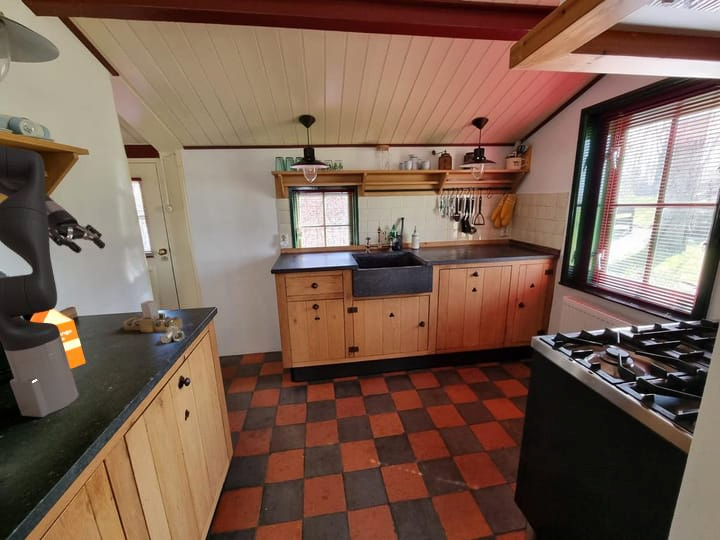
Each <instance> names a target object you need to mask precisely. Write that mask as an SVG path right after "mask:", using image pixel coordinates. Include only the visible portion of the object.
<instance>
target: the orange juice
mask: <svg viewBox="0 0 720 540" xmlns="http://www.w3.org/2000/svg"><path fill="white" fill-rule="evenodd" d="M29 321H32V322H42V323H52V324H55V325H57V327H58V328H59V331H60V335H61V338H62V342H63V345H64V348H65V352H66V355H67V358H68V362H69V365H70V368H71V369H73V368H76V367H79V366H81V365H84V364H86V358H85V356H84V353H83V349H82V344H81V341H80V338H79V335H78V331H77V328H76V324H75V320H74V319H73V318H72V319H71V318H70V317H68V316H66V315H64V314H63V313H61V312H59V311H58V310H56V309H55V308H54V309H52V310H49V311H46V312H41V313H35V314H32V316H31V318H30V320H29Z"/></svg>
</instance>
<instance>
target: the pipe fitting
mask: <svg viewBox="0 0 720 540" xmlns="http://www.w3.org/2000/svg"><path fill="white" fill-rule="evenodd" d="M184 338H185V333H184V331H183V330H180V329H178V327H177V326H170V327H169V328H168V329H167V332H164V334H163V335H162V336H161V337H160V342H161V343H163V344H164V343H165V344H170V343H171V342H172V341H174V342H180V340H181V341H183V340H184Z"/></svg>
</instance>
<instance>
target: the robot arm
mask: <svg viewBox="0 0 720 540" xmlns="http://www.w3.org/2000/svg"><path fill="white" fill-rule="evenodd" d="M45 167H46V165H45V162H44V159H43V157H42V156H41V154H40V153H39V152H37V151H34V150H29V149H24V148H18V147H12V146H11V147H10V146H6V145H0V193H1V194H2V195H3V196H5V197H6V198H5V199H4V200H2V201H1V202H0V242H1V244H3V245H4V246H5V247H6V248H8V249H9V250H10V251H12V252H14V253H15V254H16V255H18V256H19V257H21V258H22V259H23V260H24V261H25V262H26V263H27V264H28V266H30V268H31V270H32V271H31V273H29V274H20V275H13V276H6V277H5V276H4V277H0V342H1V344H2V347H3V350H4V352H5V355H6V359H7V361H8V364H9V366H10V367H9V368H10V369H11V373H12V376H13V378H12V379H10V381H9V383H10V387H11V389H12V392H13V394H14V397H15V401H16V404H17V406H18V409H19V411H20V415H21V416H24V417H34V418H35V417H36V418H44V417H47V416H48V415H49V414H53V413H54V412H57V411H60V410H61V409H64V408H65V407H68V406H69V405H71V404H72V403H73V402H75V401H76V400H77V398H78V397H79V392H78V388H77V385H76V381H75V379H74V375H73V372H72V368H70V365H69V362H68V358H67V355H66V352H65V348H64V345H63V342H62V338H61V335H60V331H59V328H58V327H57V325H55V324H52V323H42V322H32V321H30V320H27V319H23V318H21V317H23V316H24V317H25V316H28V315H34V314H35V313H41V312H46V311H49V310H52V309H54V310H55V308H56V306H57V303H58V291H57V284H56V280H55V275H54V270H53V263H52V260H51V259H52V258H51V249H50V245H51V244H50V239H51V241H52V242H53V243H55V244H56V245H57V246H58V247H61V246H64V247H68V248H69V249H70V250H72V252H73V253H76V254H80V253H81V251H82V247H80V246H79V245H78V244H77V243H76V242H75V240H81V239H83V240H85V241H89V242H93V244H94V245H95V246H97V247H98V248H99V249H100V250H102V249H104V248H105V247H106V243H105V242H104V241H103V240H101V238H102V236H103V234H102V233H101V232H99V231H98V230H97V229H96V228H95V227H93V226H92V225H91V224H86V226H82V225H80V224H79V223H78V220H77V219H76V218H75V217H74V216H73V215H72V214H71V213H69V212H68V210H66V209H65V208H64V207H63V206H62V205H60V204H58V203H57V202H56V201H54V200H53V199H52V198H51V197H50V196H49V195H48V194H47V193H46V192H45V191H46V190H45V189H46V169H45ZM85 234H86V235H85ZM73 240H74V241H73Z"/></svg>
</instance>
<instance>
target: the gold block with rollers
mask: <svg viewBox="0 0 720 540" xmlns="http://www.w3.org/2000/svg"><path fill="white" fill-rule="evenodd" d="M158 313H159V318H160V320H158V321H156V322H154V323H153V319H144V317H143V316H141V315H138V316H133V317H131V318H128V319H126V320H124V321H123V322H122V324H123V327H124V330H125V331H130V330H141V331H140V332H141V333H151V332H153V333H154V332H158V331H159V333H160V332H162V333H163V332H164V333H167V329H168V328H169V327H170V326H177V327H178V329H179V330H180V329H181V328H183V327H184V324H183V319H182V318H181V317H178V316H174V317H170V316H165V315H166V314H165V312H158Z"/></svg>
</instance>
